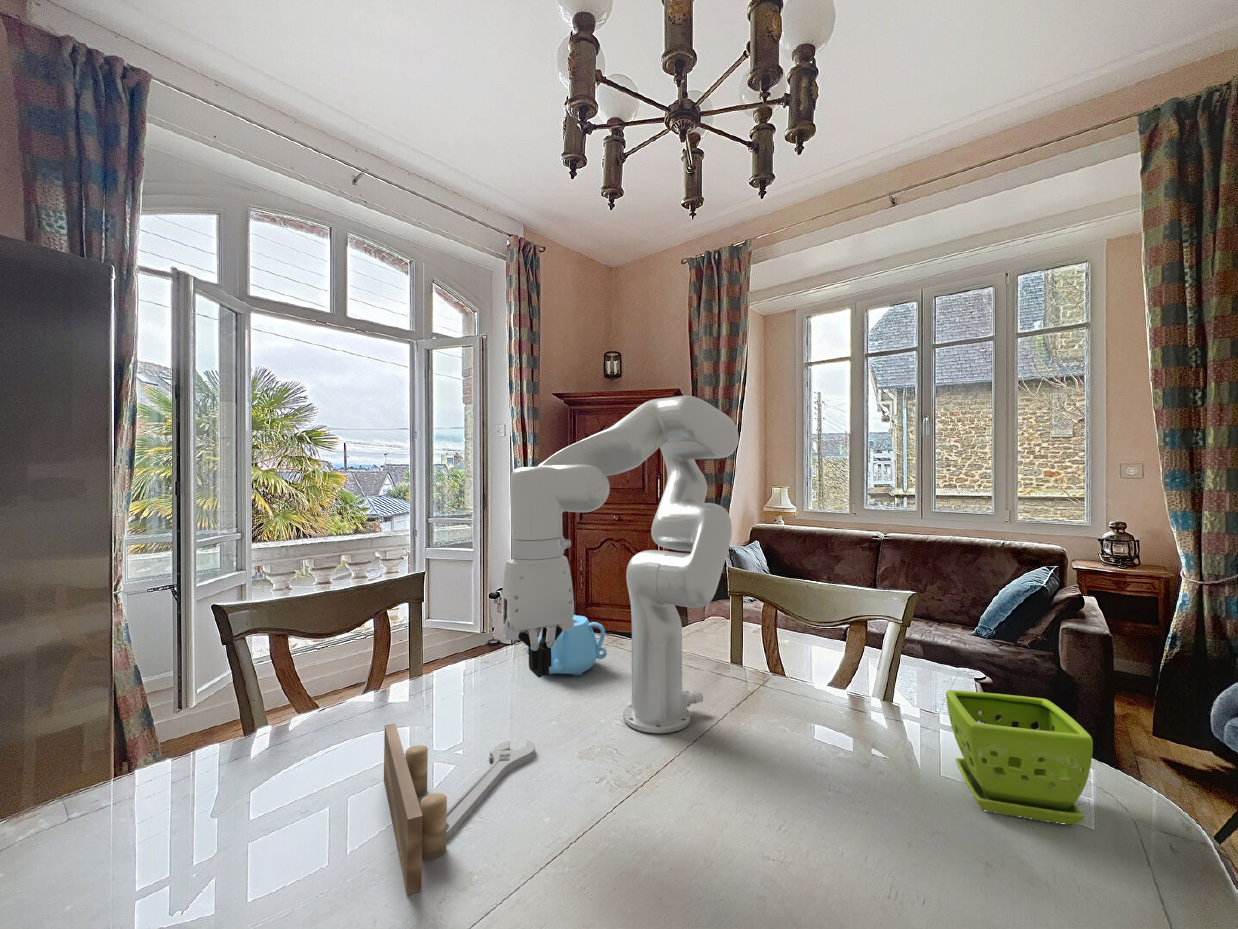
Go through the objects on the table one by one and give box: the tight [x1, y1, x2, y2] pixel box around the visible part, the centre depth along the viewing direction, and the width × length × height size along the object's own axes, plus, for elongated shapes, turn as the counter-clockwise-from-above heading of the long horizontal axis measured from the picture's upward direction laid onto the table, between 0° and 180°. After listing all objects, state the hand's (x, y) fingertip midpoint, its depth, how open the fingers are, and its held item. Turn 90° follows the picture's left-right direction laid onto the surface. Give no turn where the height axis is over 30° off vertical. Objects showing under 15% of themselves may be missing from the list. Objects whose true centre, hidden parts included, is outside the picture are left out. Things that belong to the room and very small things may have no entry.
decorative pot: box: [526, 614, 608, 676], centre depth 130 cm, size 16×16×14 cm
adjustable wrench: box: [446, 739, 536, 841], centre depth 79 cm, size 25×6×2 cm, turn 160°
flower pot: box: [945, 689, 1094, 826], centre depth 76 cm, size 14×14×13 cm
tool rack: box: [383, 722, 448, 896], centre depth 71 cm, size 5×26×8 cm, turn 29°
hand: (540, 673), depth 80 cm, fingers closed
